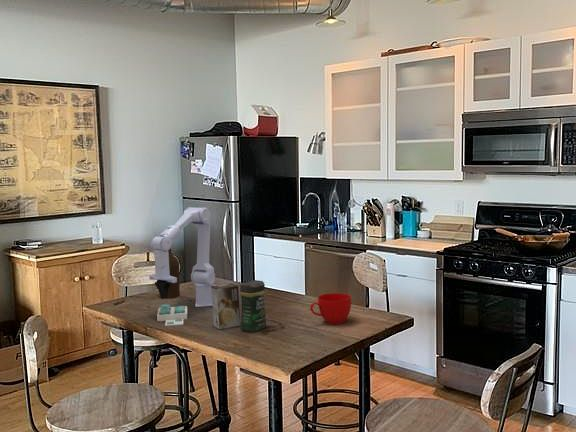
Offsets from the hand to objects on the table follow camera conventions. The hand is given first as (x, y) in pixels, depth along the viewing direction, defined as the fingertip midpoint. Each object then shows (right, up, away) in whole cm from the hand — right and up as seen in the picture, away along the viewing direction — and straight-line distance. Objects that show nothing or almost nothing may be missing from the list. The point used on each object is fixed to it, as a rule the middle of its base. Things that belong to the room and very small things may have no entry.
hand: (163, 298), depth 244 cm
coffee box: (+27, -9, -12) cm, 31 cm away
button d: (0, -7, +1) cm, 7 cm away
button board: (+3, -8, +4) cm, 10 cm away
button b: (+6, -7, +2) cm, 9 cm away
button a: (+5, -7, +8) cm, 12 cm away
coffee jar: (+38, -10, -17) cm, 43 cm away
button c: (-1, -6, +7) cm, 9 cm away
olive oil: (-6, -5, +40) cm, 41 cm away
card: (+5, -9, -5) cm, 12 cm away
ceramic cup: (+68, -8, -13) cm, 69 cm away
